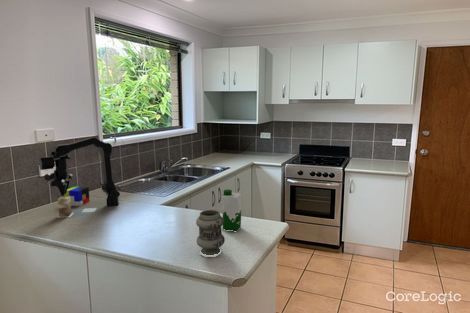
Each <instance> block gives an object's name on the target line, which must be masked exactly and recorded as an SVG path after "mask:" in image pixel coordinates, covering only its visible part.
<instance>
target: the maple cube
mask: <svg viewBox="0 0 470 313" xmlns="http://www.w3.org/2000/svg"><path fill="white" fill-rule="evenodd" d="M57 205H58V206H57V207H58V209H59V208H68V207H69V206H71V207H72V205H71V199H70V197H65V196H61V197H59V198H58V199H57Z"/></svg>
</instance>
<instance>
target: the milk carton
mask: <svg viewBox="0 0 470 313" xmlns="http://www.w3.org/2000/svg"><path fill="white" fill-rule="evenodd" d="M221 201H222V218H223V219H224V224H223V225H222V230H223V229H225V230H233V231H237V230H238V229H239V228H240V229H241V226H242V193H237V192H233V190H232V189H224V190H223V194H222V195H221ZM240 229H239V230H240ZM239 230H238V231H239ZM238 231H237V232H238Z"/></svg>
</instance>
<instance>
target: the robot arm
mask: <svg viewBox="0 0 470 313" xmlns="http://www.w3.org/2000/svg"><path fill="white" fill-rule="evenodd" d="M92 145H93V146H94V147H96V148H98V151H99V154H100V156H101V159H102V169H103V170H102V171H103V179H104V180H103V182H100V185H101V186H100V187H101V190H102V192H103V193H104V194H105V195H106V197H107V198H106V199H105V200H106V201H105V202H106V206H107V207H118V206H119V205H120V200H119V198H120V195H121V192H120V191H118V190H117V188H116V184H115V183H114V181H113V175H112V174H113V173H112V163H111V162H112V161H111V156H112V153H113V146H112V144H111V143H109V142H104V141H102V140H100V139H98V138H96V137H94V136H90V137H88V138H84V139H80V140H77V141H74V142H71V143H62V144H61V143H59V144H56V145H54V146H53V148H52V151H51V152H50V154H49V156H44V157H43V156H42V157H41V156H40V157H39V160H38V161H39V162H38V168H39V170H40V171H45V170H46V171H47V170H52V169H54V168H55V169H54V171H53V172H52V173H49V172H48V173H46V174H44V177H43V179H44V180H45V181H46V182H49V181H50V187H57V189H58V190H59V193H60V195H61V197H65V196H64V194H66V192H67V189H69V187H70V184H71V180H73V179H74V174H73V173H68V171H69V170H70V169H69V168H68V162H67V160H70V159H71V157H70V156H69V155H68V154H70V153H71V152H73V151H74V150H75V151H76V150H78V149H82V148H85V147H89V146H92Z"/></svg>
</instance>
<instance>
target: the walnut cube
mask: <svg viewBox="0 0 470 313" xmlns="http://www.w3.org/2000/svg"><path fill="white" fill-rule="evenodd" d="M71 210H72V205H71V206H69V207H68V208H59V207H58V215H59V217H65V218H67V217H66V216H70V215H71V214H72V211H71Z"/></svg>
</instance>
